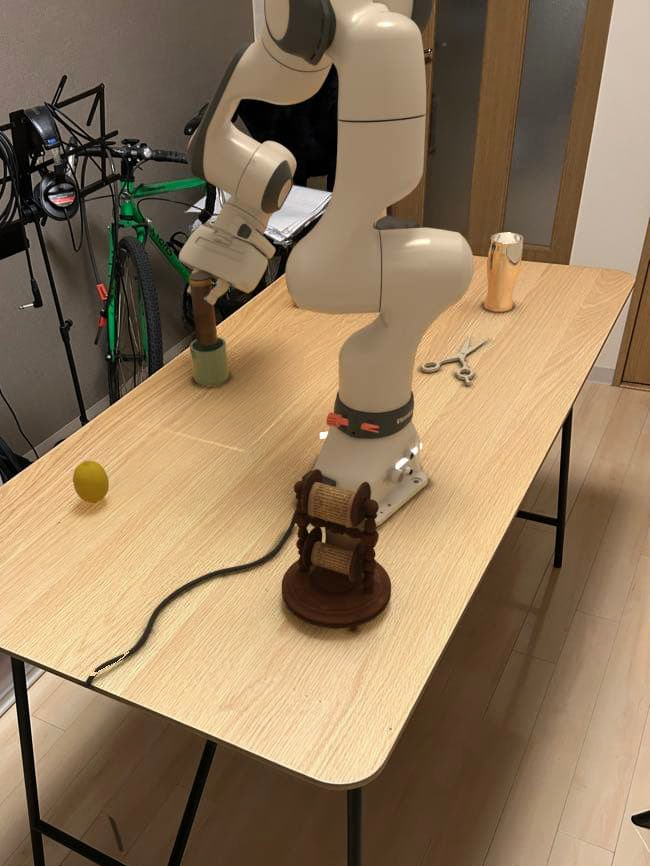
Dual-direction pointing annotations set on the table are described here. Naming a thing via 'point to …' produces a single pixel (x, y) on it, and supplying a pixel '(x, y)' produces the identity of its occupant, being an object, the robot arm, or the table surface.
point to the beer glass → (502, 270)
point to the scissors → (458, 356)
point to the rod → (203, 309)
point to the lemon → (90, 481)
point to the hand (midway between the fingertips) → (199, 298)
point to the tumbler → (209, 362)
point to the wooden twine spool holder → (335, 557)
